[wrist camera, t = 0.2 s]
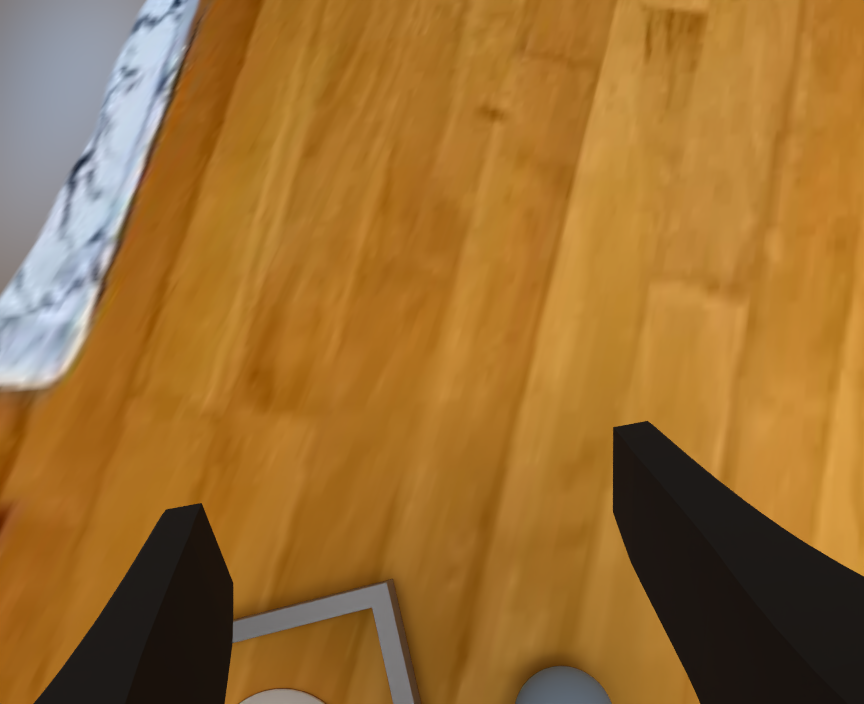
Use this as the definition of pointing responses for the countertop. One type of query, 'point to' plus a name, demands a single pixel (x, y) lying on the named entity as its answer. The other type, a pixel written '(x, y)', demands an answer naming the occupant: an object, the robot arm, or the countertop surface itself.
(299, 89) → the countertop surface
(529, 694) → the ball
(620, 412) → the countertop surface
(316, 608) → the grey square frame
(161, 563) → the robot arm
